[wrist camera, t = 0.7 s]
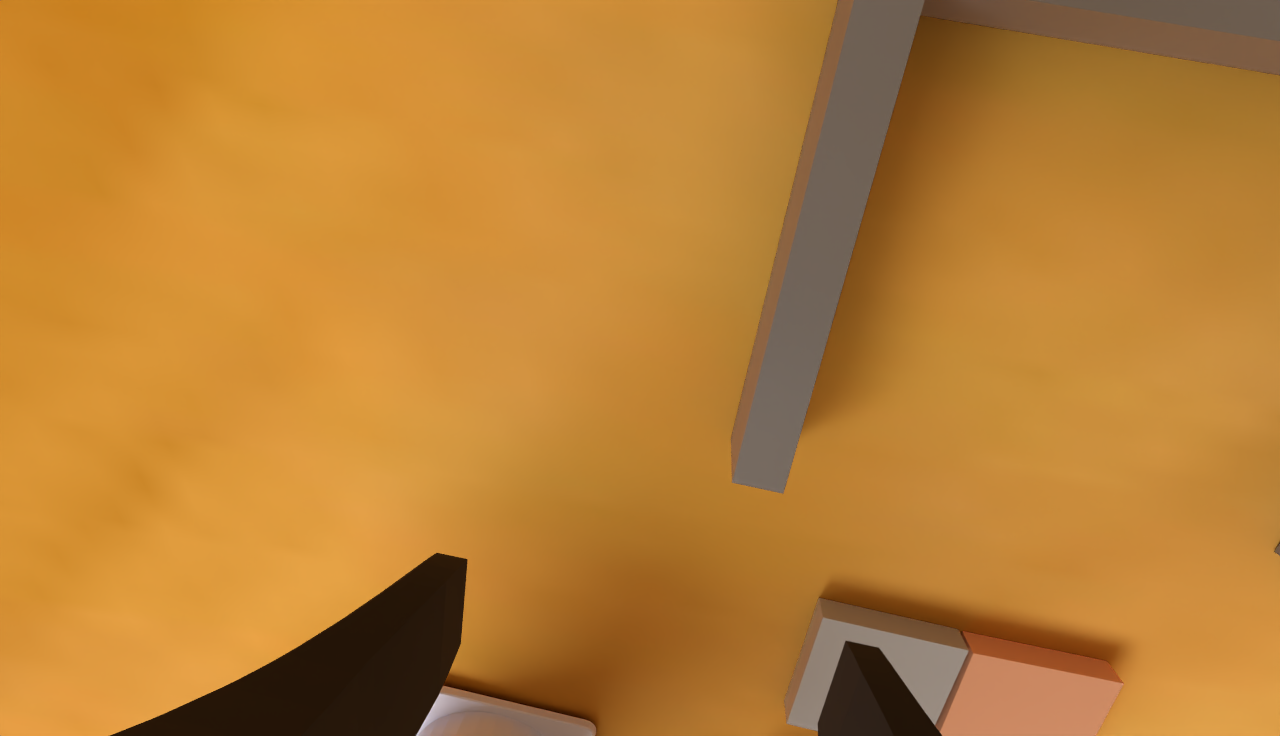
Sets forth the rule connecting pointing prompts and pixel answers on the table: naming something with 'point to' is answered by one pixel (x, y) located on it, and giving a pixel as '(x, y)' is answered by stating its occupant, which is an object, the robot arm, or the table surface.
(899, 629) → the tile slate
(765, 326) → the grey flat u-shaped piece
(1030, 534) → the table surface
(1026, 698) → the tile terracotta
